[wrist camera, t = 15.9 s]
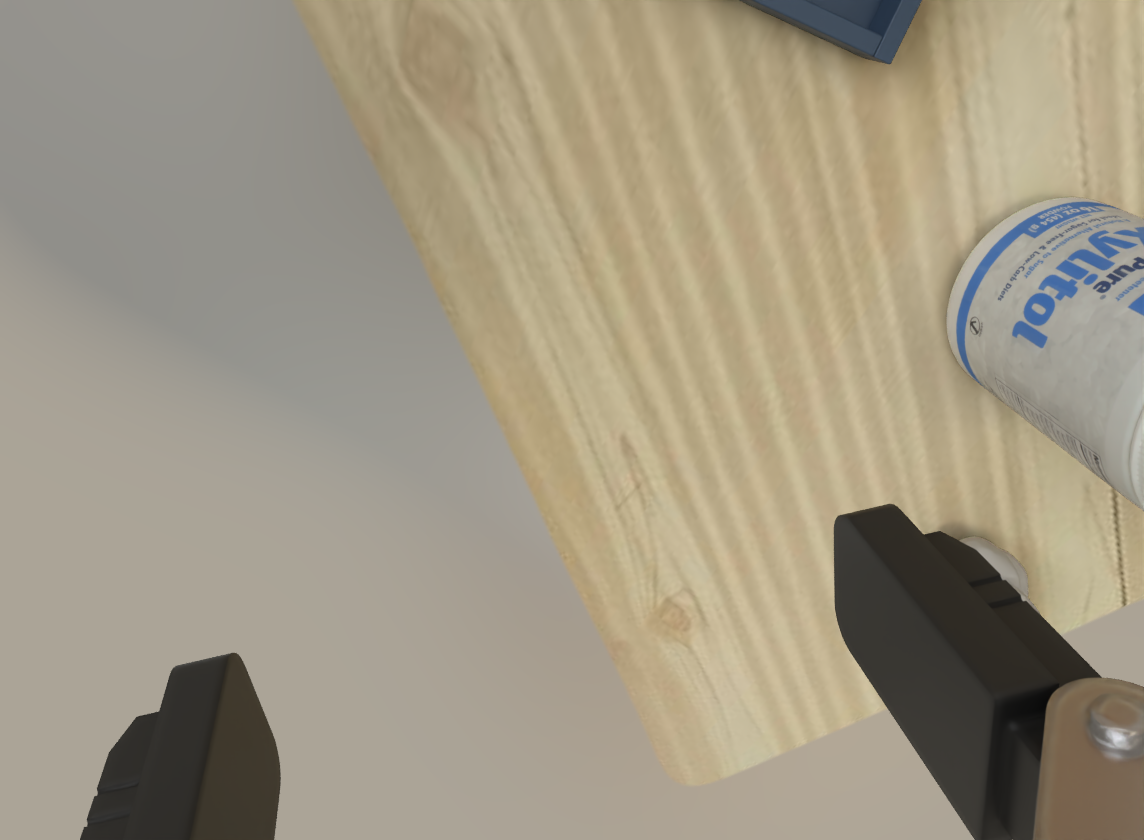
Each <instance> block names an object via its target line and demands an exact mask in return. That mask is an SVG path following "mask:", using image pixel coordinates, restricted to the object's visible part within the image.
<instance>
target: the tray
mask: <svg viewBox="0 0 1144 840" xmlns="http://www.w3.org/2000/svg"><path fill="white" fill-rule="evenodd" d="M740 1H742V2H744V3H746V4H748V5H751V6H753V7H755V8H757V9H759V10H761V11H764V12H766V13H768V14H770V15H772V16H774V17H776V18H779V19H781V20H783V21H785V22H787V23H789V24H792V25H794V26H796V27H798V28H800V29H802V30H805V31H807V32H809V33H811V34H813V35H815V36H818V37H820V38H822V39H824V40H826V41H828V42H831V43H833V44H835V45H837V46H839V47H841V48H844V49H846V50H848V51H850V52H852V53H854V54H856V55H859V56H861V57H863V58H865V59H869V60H873V61H877V62H881V63H885V64H891V62H892V60H893V58H894V56H895V54H896V52H897V50H898V48H899V46H900V44H901V42H902V40H903V38H904V36H905V34H906V32H907V30H908V28H909V26H910V24H911V21H912V19H913V17H914V15H915V13H916V11H917V9H918V7H919V5H920V3H921V1H922V0H740Z"/></svg>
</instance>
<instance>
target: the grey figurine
mask: <svg viewBox="0 0 1144 840" xmlns="http://www.w3.org/2000/svg"><path fill="white" fill-rule="evenodd" d="M958 541H960V542H962V543H964V544H966V545H968V546H970V547H972V548H974V549H976V550H977V551H978V552H979V553H980V554H981V555H982V556H983V557H984V558H985V559H986V560H987V561H988V562H989V563H990V564H991V565H992V566H993V567H994V568H995V569H996V570H997V571H998V572H999V573H1000V574H1001V578H1002V580H1006V581H1007V582H1008V583H1009V584H1010V585H1011V586H1012V587H1013V588H1014V589H1015V590H1016V591H1017V592H1018V593H1019V594H1020V595H1021V598H1022V600H1023V601H1027V602H1028V603H1029V604H1030V605H1031V606H1032V607H1033V608H1034V609H1035V610H1036V611H1037V612H1038V613H1039V611H1038V610H1037V608H1036V607H1035V606H1034V604H1033V603H1032V602H1031V601H1030V600H1029V599H1028V577H1027V573H1026V571H1025V569H1024V567H1023V566H1022V565H1021V564H1020V563H1019V561H1018V560H1017V559H1016V558H1015V557H1014V556H1013V555H1011V554H1010V553H1009V552H1007V551H1005V550H1003V549H1000V548H998V547H997V546H995V545H994V544H993V543H991V542H990V541H988V540H986V539H984V538H981V537H977V536H973V537H967V538H964V539H961V540H958ZM1039 614H1040V613H1039Z"/></svg>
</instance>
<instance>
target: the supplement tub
mask: <svg viewBox="0 0 1144 840" xmlns="http://www.w3.org/2000/svg"><path fill="white" fill-rule="evenodd" d="M947 334H948V339H949V343H950V346H951V349H952V352H953V354H954V356H955V358H956V360H957V362H958V363H959V364H960V366H961V367H962V368H963V370H964V371H965V372H966V373H967V374H968V375H969V376H970V377H972V378H973V379H974V380H976V381H977V382H978V383H980V384H981V385H982V386H983V387H984V388H986V389H987V390H988V391H989V392H991V393H992V394H993V395H995V396H996V397H997V398H998V399H1000V400H1001V401H1002V402H1004V403H1005V404H1006V405H1007V406H1009V407H1010V408H1011V409H1012V410H1014V411H1015V412H1016V413H1018V414H1019V415H1020V416H1021V417H1023V418H1024V419H1025V420H1027V421H1028V422H1029V423H1030V424H1032V425H1033V426H1034V427H1036V428H1037V429H1038V430H1039V431H1041V432H1042V433H1043V434H1045V435H1046V436H1047V437H1049V438H1050V439H1051V440H1052V441H1054V442H1055V443H1056V444H1058V445H1059V446H1060V447H1061V448H1063V449H1064V450H1065V451H1066V452H1068V453H1069V454H1070V455H1072V456H1073V457H1074V458H1075V459H1077V460H1078V461H1079V462H1080V463H1082V464H1083V465H1084V466H1086V467H1087V468H1088V469H1089V470H1091V471H1092V472H1093V473H1095V474H1096V475H1097V476H1098V477H1100V478H1101V479H1102V480H1104V481H1105V482H1106V483H1108V484H1109V485H1110V486H1111V487H1113V488H1114V489H1115V490H1117V491H1118V492H1119V493H1120V494H1122V495H1123V496H1124V497H1126V498H1127V499H1128V500H1130V501H1131V502H1133V503H1134V504H1135V505H1136V506H1138V507H1139V508H1140V509H1142V510H1143V511H1144V219H1143V218H1141V217H1138V216H1136V215H1133V214H1130V213H1128V212H1125V211H1123V210H1120V209H1118V208H1115V207H1113V206H1109V205H1107V204H1104V203H1102V202H1098V201H1095V200H1091V199H1085V198H1077V197H1064V198H1055V199H1050V200H1045V201H1042V202H1039V203H1035V204H1033V205H1031V206H1029V207H1026V208H1024V209H1021V210H1019V211H1017V212H1016V213H1014V214H1012V215H1011V216H1009V217H1008V218H1006V219H1005V220H1003V221H1002V222H1001V223H999V224H998V225H997V226H995V227H994V228H993V229H992V230H991V231H990V232H989V233H988V234H987V235H986V236H985V237H984V238H982V239H981V241H980V242H979V243H978V244H977V245H976V247H975V248H974V249H973V250H972V252H971V253H970V255H969V256H968V258H967V259H966V261H965V262H964V264H963V266H962V268H961V270H960V272H959V274H958V276H957V279H956V281H955V283H954V286H953V289H952V292H951V295H950V299H949V303H948V309H947Z"/></svg>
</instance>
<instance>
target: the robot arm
mask: <svg viewBox="0 0 1144 840" xmlns="http://www.w3.org/2000/svg"><path fill="white" fill-rule="evenodd" d="M834 585H835V611H836V616H837V621H838V625H839V628H840V631H841V634H842V637H843V639H844V641H845V643H846V645H847V647H848V649H849V651H850V652H851V654H852V655H853V657H854V658H855V660H856V661H857V663H858V664H859V666H860V667H861V669H862V670H863V672H864V673H865V675H866V676H867V678H868V679H869V681H870V682H871V684H872V685H873V687H874V689H875V690H876V692H877V693H878V695H879V696H880V698H881V699H882V701H883V702H884V704H885V705H886V707H887V708H888V710H889V711H890V713H891V714H892V716H893V717H894V719H895V720H896V722H897V723H898V725H899V726H900V728H901V729H902V731H903V732H904V734H905V735H906V737H907V738H908V740H909V741H910V743H911V744H912V746H913V747H914V749H915V750H916V752H917V753H918V755H919V756H920V758H921V759H922V761H923V762H924V764H925V765H926V767H927V768H928V770H929V771H930V773H931V774H932V776H933V777H934V779H935V780H936V782H937V783H938V785H939V786H940V788H941V789H942V791H943V792H944V794H945V795H946V797H947V798H948V800H949V801H950V803H951V805H952V806H953V808H954V809H955V811H956V812H957V814H958V815H959V816H960V818H961V820H962V821H963V823H964V824H965V825H966V827H967V829H968V830H969V832H970V833H971V835H972V836H973V838H974V839H975V840H1012V839H1013V840H1144V687H1142V686H1140V685H1137V684H1134V683H1131V682H1126V681H1122V680H1117V679H1111V678H1102V677H1101V676H1100V675H1099V674H1098V673H1097V672H1096V671H1095V670H1094V669H1093V668H1092V667H1091V666H1090V665H1089V664H1088V663H1087V662H1086V661H1085V660H1084V659H1083V658H1082V657H1081V656H1080V655H1079V654H1078V653H1077V652H1076V651H1075V650H1074V649H1073V648H1072V647H1071V646H1070V645H1069V644H1068V643H1067V642H1066V641H1065V640H1064V639H1063V638H1062V636H1061V635H1060V634H1059V633H1058V632H1057V631H1056V630H1055V629H1054V628H1053V627H1052V626H1051V625H1050V624H1049V623H1048V622H1047V621H1046V620H1045V619H1044V618H1043V617H1042V616H1041V615H1040V614H1039V613H1038V612H1037V611H1036V610H1035V609H1034V608H1033V607H1032V606H1031V605H1030V604H1029V603H1028V602H1027V601H1023V600H1022V598H1021V595H1020V594H1019V593H1018V592H1017V591H1016V590H1015V589H1014V588H1013V587H1012V586H1011V585H1010V584H1009V583H1008V582H1007V581H1006V580H1002V578H1001V574H1000V573H999V572H998V571H997V570H996V569H995V568H994V567H993V566H992V565H991V564H990V563H989V562H988V561H987V560H986V559H985V558H984V557H983V556H982V555H981V554H980V553H979V552H978V551H977V550H976V549H974V548H972V547H970V546H968V545H966V544H964V543H962V542H960V541H958V540H957V539H955V538H953V537H951V536H949V535H947V534H945V533H943V532H941V531H938V532H934V533H929V534H925V535H923V534H922V533H921V531H920V530H919V529H918V528H917V527H916V526H915V525H914V524H913V523H912V522H911V521H910V519H909V518H908V517H907V516H906V515H905V514H904V513H903V512H902V511H901V510H900V509H899V508H898V507H897V506H895V505H893V504H887V505H883V506H878V507H874V508H870V509H865V510H861V511H857V512H852V513H848V514H843V515H839V516H838V517H837V518H836V520H835V524H834ZM280 779H281V777H280V763H279V756H278V751H277V747H276V742H275V739H274V736H273V733H272V731H271V729H270V726H269V724H268V721H267V719H266V716H265V714H264V711H263V709H262V707H261V704H260V702H259V699H258V697H257V694H256V692H255V689H254V687H253V684H252V682H251V679H250V677H249V675H248V672H247V670H246V667H245V665H244V663H243V661H242V659H241V657H240V656H239V655H238V654H237V653H231V654H226V655H221V656H217V657H213V658H209V659H204V660H200V661H195V662H191V663H187V664H182V665H178V666H176V667H174V668H173V669H172V671H171V673H170V676H169V680H168V683H167V687H166V690H165V694H164V697H163V701H162V704H161V708H160V711H159V712H155V713H151V714H147V715H143V716H138V717H136V718H135V720H134V721H133V722H132V724H131V725H130V726H129V728H128V729H127V730H126V731H125V733H124V734H123V735H122V737H121V738H120V739H119V741H118V742H117V743H116V744H115V746H114V747H113V748H112V749H111V751H110V752H109V754H108V758H107V760H106V763H105V766H104V770H103V772H102V776H101V778H100V781H99V784H98V787H97V791H98V796H95V797H94V799H93V802H92V805H91V808H90V811H89V814H88V818H87V822H88V826H87V827H84V830H83V832H82V835H81V838H80V840H274V836H275V828H276V819H277V811H278V802H279V793H280Z"/></svg>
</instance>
